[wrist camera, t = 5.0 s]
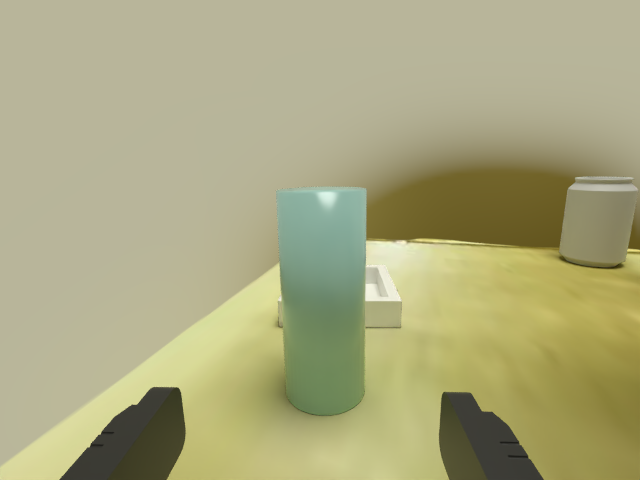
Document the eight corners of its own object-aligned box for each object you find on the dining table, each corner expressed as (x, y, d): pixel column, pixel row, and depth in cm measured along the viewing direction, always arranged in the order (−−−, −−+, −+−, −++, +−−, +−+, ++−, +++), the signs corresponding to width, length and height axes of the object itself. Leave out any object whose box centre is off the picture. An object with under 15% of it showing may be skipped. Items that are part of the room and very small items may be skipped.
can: (637, 270, 44) (655, 177, 42) (571, 267, 46) (584, 177, 44) (606, 255, 52) (620, 174, 49) (550, 253, 53) (560, 175, 51)
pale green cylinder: (361, 365, 25) (363, 186, 22) (368, 416, 20) (370, 192, 17) (291, 364, 25) (283, 187, 22) (279, 414, 20) (267, 194, 17)
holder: (384, 284, 41) (384, 264, 41) (400, 327, 31) (401, 301, 30) (294, 284, 42) (293, 265, 41) (279, 326, 31) (277, 301, 31)
